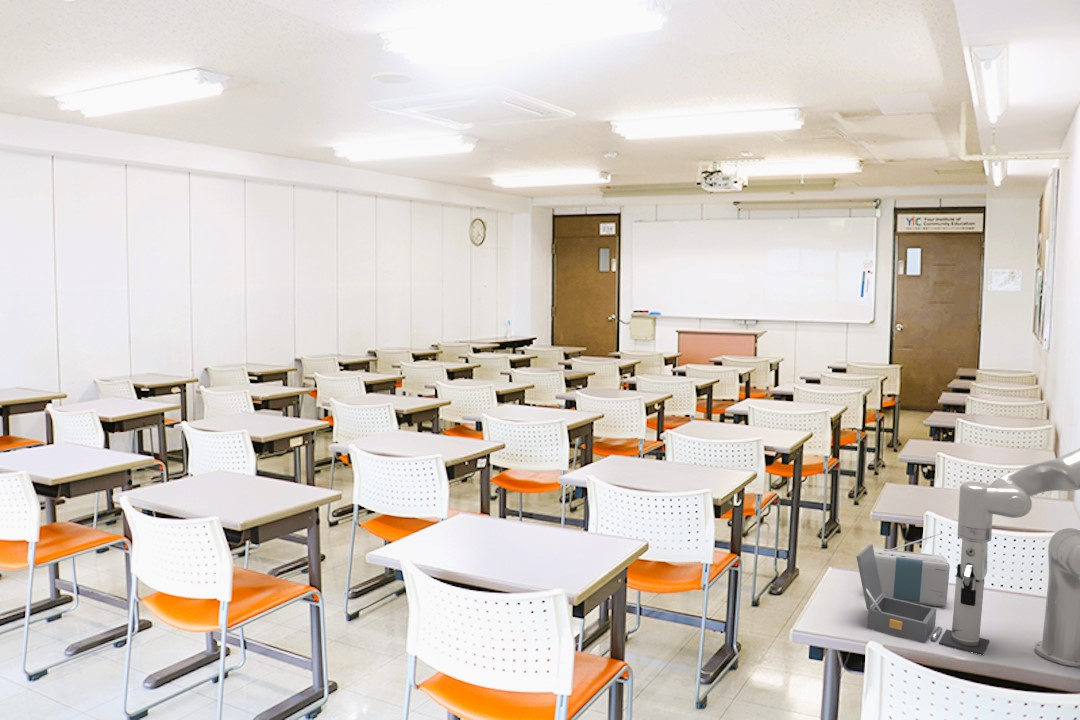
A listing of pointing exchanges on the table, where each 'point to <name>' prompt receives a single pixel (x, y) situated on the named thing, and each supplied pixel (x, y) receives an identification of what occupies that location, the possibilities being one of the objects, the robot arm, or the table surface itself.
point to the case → (892, 605)
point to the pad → (949, 642)
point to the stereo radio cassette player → (913, 575)
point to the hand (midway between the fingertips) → (971, 598)
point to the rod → (936, 633)
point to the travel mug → (967, 614)
